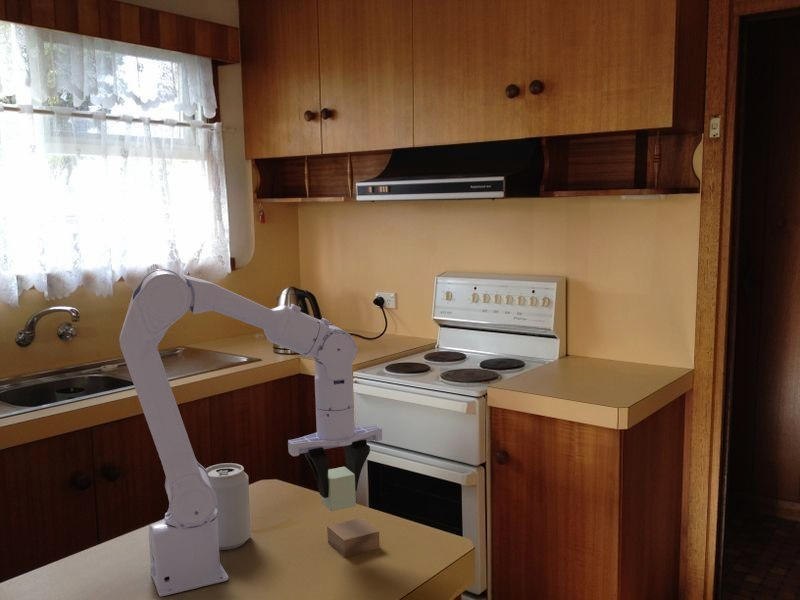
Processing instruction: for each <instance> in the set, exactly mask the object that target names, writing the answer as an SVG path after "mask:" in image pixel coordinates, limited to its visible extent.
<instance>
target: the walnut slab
mask: <svg viewBox="0 0 800 600" xmlns="http://www.w3.org/2000/svg"><path fill="white" fill-rule="evenodd" d="M326 529H327V543H328V545H330V546H331V547H332V548H333V549H334V550H335V551H336V552H338V554H340V555H341V557H343V558H349V557H353V556H356V555H359V554H363V553H366V552H371V551H373V550H377V549H380V530H378V529H377V528H376V527H374V526H373V525H372V524H371V523H369V522H368V521H366V520H365V519H364V518H362V517H359V518H355V519H351V520H348V521H343V522H338V523H335V524H330V525H327V527H326Z"/></svg>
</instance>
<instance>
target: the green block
mask: <svg viewBox="0 0 800 600" xmlns="http://www.w3.org/2000/svg"><path fill="white" fill-rule="evenodd" d="M328 485H329V494H328V498H323V497H322V496H321V499H320V500H321V503H322V505H323V506H324V507H326V508H327V509H328V510H329V511H330V512H335V511H340V510H344V509H349V508H350V509H351V508H353V507H354V508H355V507H357V503H356V502H357V499H356V492H355V474H354V473H352V472H351V471H350V470H348V469H347V466H340V467H336V468H328Z"/></svg>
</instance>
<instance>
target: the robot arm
mask: <svg viewBox="0 0 800 600" xmlns="http://www.w3.org/2000/svg"><path fill="white" fill-rule="evenodd" d="M182 277H183V278H184V279H183V278H182ZM188 310H189V311H190V312H191V313H192V315H198V314H201V313H207V312H211V311H212V312H216V313H219V314H221V315H224V316H225V317H226V316H227V317H230V318H231V319H235V320H237V321H240V322H243V323H246V324H249V325H250V326H253V327H257V328H259V329H262V330H263V333H264V335H265V337H266V340H267V341H268V342H269V343H272V344H275V345H277V346H279V347H282V348H285V349H287V350H289V351H291V352H294V353H296V354H299V355H302V356H304V357H309V358H310V357H312V358H313V359H314V374H315V375H314V394H315V396H314V397H315V417H316V418H315V420H316V432H314V433H311V434H308V435H304V436H301V437H298V438H297V437H296V438H293V439H288V441H287V447H288V454H289V455H291V456H292V457H299V456H300V454H303V455H304V456H305V458H306V460H307V461H308V463H309V466H310V468H311V470H312V473H313V475H314V477H315V481H316V483H317V488H318V492H319V495H321V496H322V497H323V498H328V494H329V485H328V470H329V469H330V468H329V467H330V459H331V457H329V456H328V455H327V454H326V451H325V450H327V449H333V448H338V447H339V448H340V447H343V450H344V456H345V464H346V466H345V467H346V468H347V469H348V470H350V471H351V472H352V473H354V474H355V493H356V492H357V491H358V486H359V482H360V481H359V480H360V477H361V473H362V470H363V467H364V465H365V462H366V460H367V459H368V456H369V455H370V453H371V447H370V445H369V444H367V443H368V442H370V441H371V442H372V441H375V442H380V441H383V428H382V427H380V426H378V425H370V426H369V425H368V426H356V427H355V423H356V422H355V400H354V399H355V398H354V397H355V396H354V394H355V393H354V375H353V363H354V361H355V360H356V358H357V355H358V350H359V348H358V346H357V345H356V341H355V339H354V338H353V337H352V335H351V333H349V332H348V331H346V330H343V329H341V328H340V327H338V326H336V325H334V324H333V323H330V320H328V319H326V318H324V317H322V318H321V319H319V318H316V317H314V316H311V315H309V314H307V313H304V312H303V311H301V310H302V307H300V306H298V305H295V304H294V303H291V304H290V306H288V305H285V304H280V305H278V306H275V307H273V308H269V307H266V306H264V305H262V304H260V303H258V302H256V301H254V300H252V299H250V298H247V297H244V296H242V295H240V294H238V293H236V292H233V291H231V290H230V289H229V290H228V288H225V287H223V286H220V285H218V284H216V283H214V282H211V281H208V280H205V279H201V278H197V277H194V276H190V275H187V274H182V276H180V275H179V274H178V273H177V272H175V271H173V270H170V269H166V268H158V269H154V270H151V271H150V272H148V273H147V274H146V275H145V276H144V277H143V278H142V279H141V281H140V282H139V283H138V285H137V286H136V287H135V289H134V290H133V292H132V294H131V297H130V301H129V304H128V308H127V312H126V315H125V318H124V321H123V324H122V328H121V331H120V334H119V347H120V350H121V353H122V356H123V358H124V361H125V363H126V367H127V369H128V372H129V376H130V378H131V381H132V383H133V386H134V389H135V392H136V395H137V397H138V401H139V403H140V406H141V409H142V411H143V414H144V417H145V420H146V422H147V426H148V429H149V431H150V434H151V436H152V439H153V442H154V445H155V448H156V452H157V453H158V457H159V459H160V461H161V465H162V469H163V471H164V474H165V483H164V488H165V491H166V494H167V498H168V503H169V504H168V509H167V512H165V514H164V518H163V519H162V520H160V521H157V522H155V523H154V522H153V523H151V524H149V528H148V538H149V539H148V540H149V554H150V556H149V557H150V559H149V560H150V564H149V565H150V574H151V577H152V580H153V583H154V585H155V589H156V591H157V593H158V596H159V597H165V596H169V595H173V594H178V593H183V592H185V591H190V590H194V589H199V588H202V587H206V586H211V585H214V584H219V583H222V582H223V583H224V582H226V581H228V580H229V575H228V573H227V572H226V571H225V569H224V567H223V565H222V564H221V561H220V559H221V558H220V550H219V536H218V515H217V509H216V504H217V498H216V494H215V492H214V490H213V488H212V487H211V484H210V481H209V475H208V472H207V471H206V468H205V467H204V466H203V465H202V464H201V463H199V461H198V460H197V458H196V456H195V453H194V449H193V447H192V444H191V442H190V439H189V436H188V432H187V430H186V427H185V424H184V421H183V419H182V415H181V413H180V410H179V407H178V404H177V401H176V398H175V395H174V393H173V389H172V386H171V384H170V380H169V378H168V375H167V373H166V369H165V366H164V363H163V360H162V358H161V355H160V352H159V349H158V347H159V344H160V342H161V341H162V339H163V338H164V337H165V334H166V333H167V332H168V329H169V328H170V327H171V326H172V325H174V324H175V323H176V322H177V321H179V319H181V318H182V317H183V316H184V315H185V314H186V313H188Z"/></svg>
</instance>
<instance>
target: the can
mask: <svg viewBox="0 0 800 600" xmlns="http://www.w3.org/2000/svg"><path fill="white" fill-rule="evenodd" d="M205 469H206V471H207V472H208V475H209V481H210V484H211V487H212V488H213V490H214V492H215V494H216V498H217V504H216V509H217V515H218V536H219V551H225V550H232V549H237V548H239V547H242V545H244V544H245V543H246V541H248V540H249V538H251V536H252V534H251V533H252V529H251V528H252V527H251V526H252V525H251V509H250V508H251V507H250V506H251V505H250V485H249V475H248V474H247V473H246V472H245V471H244V470H245V468H244V466H243V465H241V464H239V463H232V462H229V463H228V462H227V463H218V464H214V465H211V466H208V467H206V468H205Z"/></svg>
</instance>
